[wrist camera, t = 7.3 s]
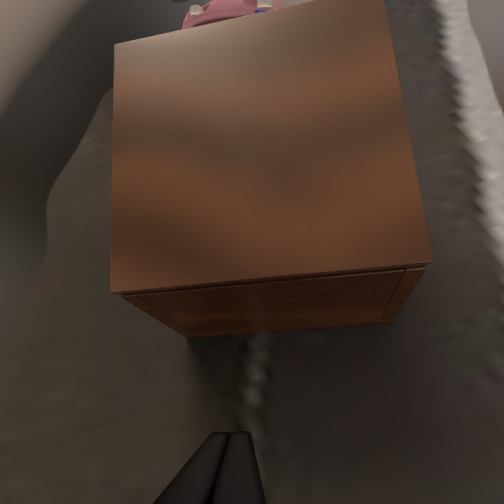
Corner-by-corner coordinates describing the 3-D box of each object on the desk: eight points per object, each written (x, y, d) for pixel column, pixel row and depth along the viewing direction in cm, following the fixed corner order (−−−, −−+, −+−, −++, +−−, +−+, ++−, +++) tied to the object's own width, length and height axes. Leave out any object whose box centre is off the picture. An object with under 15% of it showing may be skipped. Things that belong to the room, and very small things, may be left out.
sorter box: (194, 190, 27) (149, 109, 20) (359, 167, 25) (372, 68, 18) (185, 338, 22) (120, 297, 15) (392, 323, 20) (427, 268, 13)
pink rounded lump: (199, 77, 36) (167, 38, 29) (201, 33, 36) (170, -18, 29) (295, 71, 34) (284, 26, 27) (298, 23, 34) (288, -34, 27)
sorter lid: (122, 56, 18) (113, 44, 17) (378, 2, 16) (381, -15, 15) (119, 294, 15) (109, 293, 14) (427, 265, 13) (433, 261, 12)
